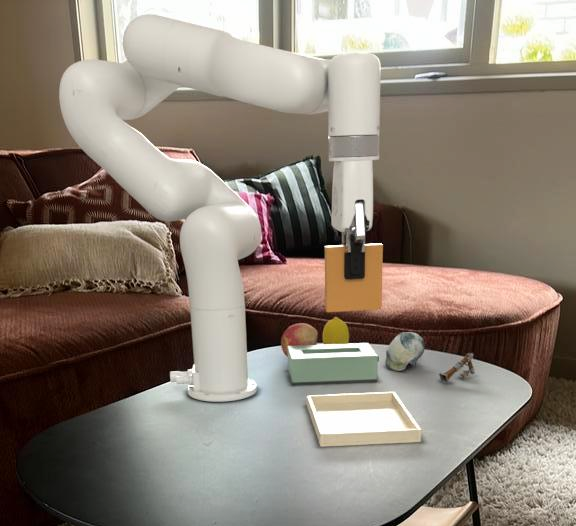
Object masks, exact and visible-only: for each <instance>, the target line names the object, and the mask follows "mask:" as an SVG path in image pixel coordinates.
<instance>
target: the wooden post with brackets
mask: <svg viewBox="0 0 576 526" xmlns="http://www.w3.org/2000/svg"><path fill="white" fill-rule="evenodd" d="M473 359H474V353H473V352H470V353H469V352H468V353H466V354H464V357H463V358H462V359H461V360H460V361H457V362H456V363H455V364H454V365H452V367H451V368H450V369H449V370H447V371H445V372H444V373H443V372H439V373H438V375H439V379H440V382H441V383H443V384H444V383H445V384H446V385H447V384H449V383H450V381H449V380H450V378H451V377H452V376H454V374H456V373H457V372H459V371H460V370H461V369H463V368H464V366H467V367H468V369H466V370H462V372H460V373H459V379H460V380H462V379H466V378H467V377H469V374H471V375H474V374H475V367H474V366H473V362H472V360H473Z"/></svg>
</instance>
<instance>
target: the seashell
mask: <svg viewBox="0 0 576 526" xmlns="http://www.w3.org/2000/svg"><path fill="white" fill-rule="evenodd" d="M425 346H426V345H425V342H424V338H422V337H421V336H420V335H419V334H418V333H416V332H412V331H407V332H405V331H404V332H403V331H402V332H399V333H398V334H397V335H396V336H395V337H394V338H393V339H392V341H391V342H390V343H389V345H388V347H387V350H386V351H385V354H386V355H385V356H386V357H385V366H386V367H387V368H388V369H389V370H392V371H396V372H402V371H405V370H406V369H407V366H408V365H409V364H410V365H411V366H416V363H417V362H418V361H419V359H421V357H422V356H423V354H424V353H425V349H426V348H425Z"/></svg>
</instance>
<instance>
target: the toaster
mask: <svg viewBox="0 0 576 526" xmlns="http://www.w3.org/2000/svg"><path fill="white" fill-rule="evenodd" d="M287 348H288V357H287V373H288V376H289V379H290V382H291V385H292V386H307V385H308V386H309V385H311V386H313V385H332V384H333V385H334V384H335V385H336V384H355V383H356V384H358V383H360V384H361V383H377V382H378V367H379V366H378V363H379V362H380V357H379V355H378V354H377V353H376V351H375V349H374V348H373V347H372V346H371V345H370V343H369V342H359V343H357V342H356V343H355V342H354V343H348V344H327V345H324V344H317V345H301V346H287Z"/></svg>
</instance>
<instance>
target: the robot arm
mask: <svg viewBox="0 0 576 526" xmlns="http://www.w3.org/2000/svg"><path fill="white" fill-rule="evenodd" d="M122 49H123V53H124V57H125V59H126V60H125V61H124V62H116V61H110V60H104V59H103V60H102V59H93V58H92V59H84V60H83V59H82V60H79V61H76V62H75V63H72V64H71V65H69V66H68V67H67V68H66V69H65V70H64V72H63V74H62V76H61V78H60V81H59V82H60V83H59V89H58V99H59V107H60V111H61V116H62V119H63V121H64V125H65V127H66V128H67V131H68V133H69V134H70V135H71V137H72V139H73V140H74V142H75V143H76V144H77V145H78V146H79V148H80V149H81V150H82V151H83V152H84V153H85V154H86V155H87V156H88V157H89V158H90V159H92V160H93V162H95V163H96V164H97V165H98V166H99V167H100V168H102V169H103V170H104V171H105V172H106V173H107V174H108V175H109V176H110V177H111V178H112V179H113V180H115V182H116V183H117V184H118V185H119V186H120V187H121V188H122V189H124V190H125V191H126V192H127V193H128V194H129V195H130V196H131V197H132V198H133V199H134V200H135V201H136V202H137V203H138V204H139V205H141V206H142V208H144V209H145V211H146V212H148V213H149V214H150V215H151V216H152V217H153V218H155V219H157V220H159V221H161V222H168V223H169V222H177V221H183V220H184V221H183V223H182V225H181V228H180V233H179V247H180V253H181V257H182V261H183V265H184V269H185V275H186V281H187V288H188V289H187V290H188V298H189V299H188V300H189V312H190V324H191V325H190V327H191V338H192V353H193V365H192V368H190V369H187V371H180V370H175V371H174V370H173V371H169V378H170V383H176V385H184V384H185V385H188V386H187V395H188V396H189V397H190V398H192V399H194V400H198V401H202V402H203V401H204V402H211V403H213V402H215V403H220V402H221V403H223V402H224V403H225V402H226V403H227V402H233V401H240V400H243V399H247V398H250V397H251V396H253V395H255V394H256V393H257V391H258V384H257V383H256V382H255V380H252V379H251V378H250V379H249V372H248V371H249V368H248V349H247V348H248V347H247V344H248V343H247V323H246V303H245V287H244V282H243V277H242V273H241V269H240V266H239V265H240V264H239V260H241V259H244V258H247V257H249V256H250V255H252V254H253V253H254V252H255V251H256V249H257V248H258V247H259V245H260V243H261V239H262V225H261V222H260V219H259V217H258V215H257V214H256V212H255V210H253V208H252V207H251V206H250V205H249V204H248V203H247V202H246V201H245V200H244V199H243V198H242V197H241V196H240V195H239V194H238V193H236V192H235V190H233V189H232V188H231V187H230V186H229V185H228V184H227V183H226V182H225V181H224V180H223V179H221V178H220V176H218V175H217V174H216V173H215V171H213V170H212V169H210V168H209V167H208V166H206V165H204V164H203V163H201V162H199V161H197V160H193V159H189V158H187V159H186V158H185V159H184V158H183V159H182V158H181V159H176V158H170V157H168V156H167V154H165V153H164V152H162V151H161V150H160V149H158V148H157V147H156V146H155V145H154V144H153V143H152V142H150V140H149V139H148V138H147V137H146V136H145V135H144V134H143V133H141V132H140V131H138V130H137V129H135V128H134V127H133V126H131V125H129V124H128V123H127V122H126V121H128V120H129V121H132V120H136V119H139V118H141V117H143V116H145V115H146V114H148V113H149V112H150V111H151V110H153V109H154V108H155V107H157V106H158V105H159V104H160V103H162V102H163V101H164V100H165V99H167V98H168V97H169V96H170V95H171V94H173V93H174V92H175V91H177V90H178V89H179V88H180V87H184V88H189V89H192V90H195V91H197V92H198V91H199V92H202V93H206V94H210V95H213V96H216V97H219V98H221V97H224V98H229V99H232V100H235V101H239V102H243V103H247V104H250V105H253V106H258V107H261V108H265V109H269V110H272V111H275V112H281V113H284V114H299V115H316V114H317V115H318V114H322V113H326V112H327V115H328V117H327V118H328V119H327V120H328V162H333V170H332V172H333V173H332V189H331V221H330V222H331V227H332V228H333V229H335V230H336V231H338V232H339V233H341V245H346V252H345V253H344V277H345V279H363V278H364V277H365V244H366V232H368V231H370V230H371V229H372V228H373V220H374V169H373V168H374V166H373V161H379V160H380V127H381V126H380V123H381V122H380V121H381V118H380V117H381V74H382V73H381V71H382V70H381V68H382V67H381V61H380V59H379V57H378V56H377V55H376V54H373V53H370V52H347V53H341V54H337V55H335V56H333V57H332V58H331V59H330V58H319V57H314V56H310V55H308V54H303V53H298V52H293V51H289V50H285V49H280V48H276V47H271V46H268V45H263V44H260V43H255V42H251V41H247V40H243V39H240V38H237V37H234V36H232V34H231V33H230V32H227V31H224V30H220V29H216V28H213V27H207V26H203V25H199V24H195V23H190V22H186V21H182V20H178V19H175V18H171V17H166V16H161V15H158V14H151V13H150V14H149V13H148V14H142V15H138V16H136V17H135V18H133V19H132V20H131V21H129V23H128V24H127V26H126V27H125V30H124V32H123V36H122Z"/></svg>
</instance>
